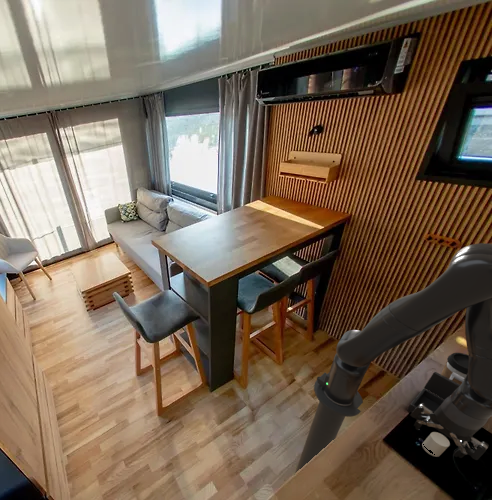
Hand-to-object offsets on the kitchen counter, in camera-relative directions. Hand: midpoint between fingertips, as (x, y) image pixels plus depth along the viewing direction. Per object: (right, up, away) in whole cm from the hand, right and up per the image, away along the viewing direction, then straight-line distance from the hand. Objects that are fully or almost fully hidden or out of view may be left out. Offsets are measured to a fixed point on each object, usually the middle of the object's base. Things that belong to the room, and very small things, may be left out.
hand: (435, 440), depth 79 cm
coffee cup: (+25, +8, +17) cm, 31 cm away
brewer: (+11, +2, +10) cm, 15 cm away
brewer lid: (+13, +11, +6) cm, 18 cm away
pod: (+1, -5, +2) cm, 5 cm away
